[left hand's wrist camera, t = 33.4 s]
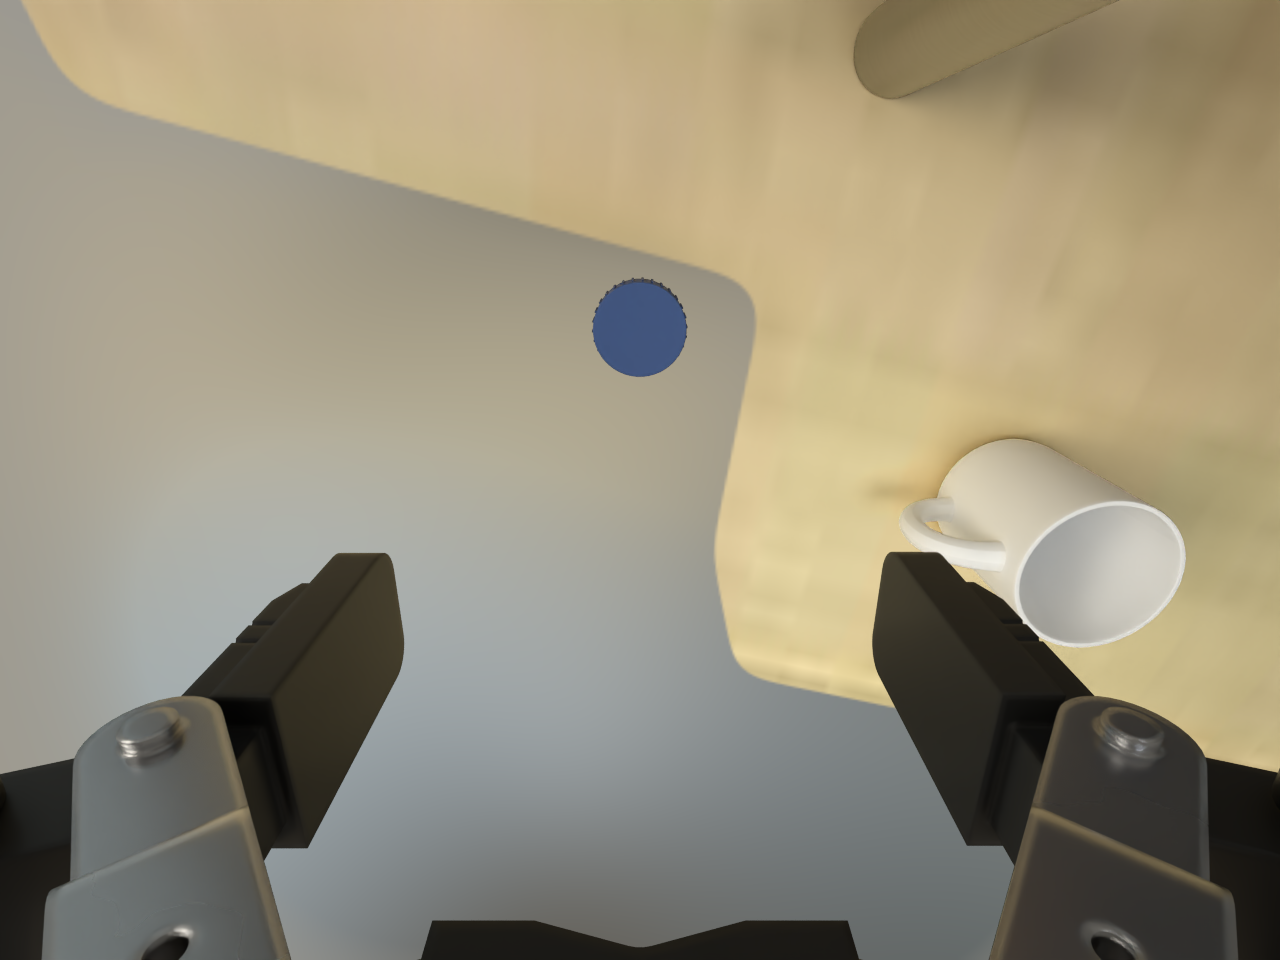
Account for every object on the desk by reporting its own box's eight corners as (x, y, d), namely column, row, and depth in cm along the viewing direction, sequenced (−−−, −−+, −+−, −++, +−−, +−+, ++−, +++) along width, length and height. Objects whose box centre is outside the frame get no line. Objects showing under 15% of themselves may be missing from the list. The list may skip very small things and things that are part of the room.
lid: (626, 258, 38) (625, 260, 36) (703, 311, 39) (707, 316, 37) (576, 337, 40) (573, 344, 38) (652, 386, 41) (653, 395, 39)
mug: (863, 551, 44) (925, 643, 35) (884, 430, 41) (958, 495, 32) (1045, 556, 45) (1156, 650, 35) (1079, 436, 42) (1211, 503, 32)
